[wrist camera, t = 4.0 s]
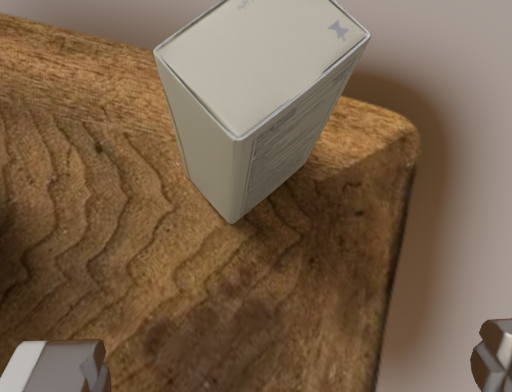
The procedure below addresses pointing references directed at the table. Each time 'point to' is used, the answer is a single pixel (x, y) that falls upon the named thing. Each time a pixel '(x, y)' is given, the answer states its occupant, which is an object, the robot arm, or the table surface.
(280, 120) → the cosmetic box
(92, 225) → the table surface
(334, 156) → the table surface
